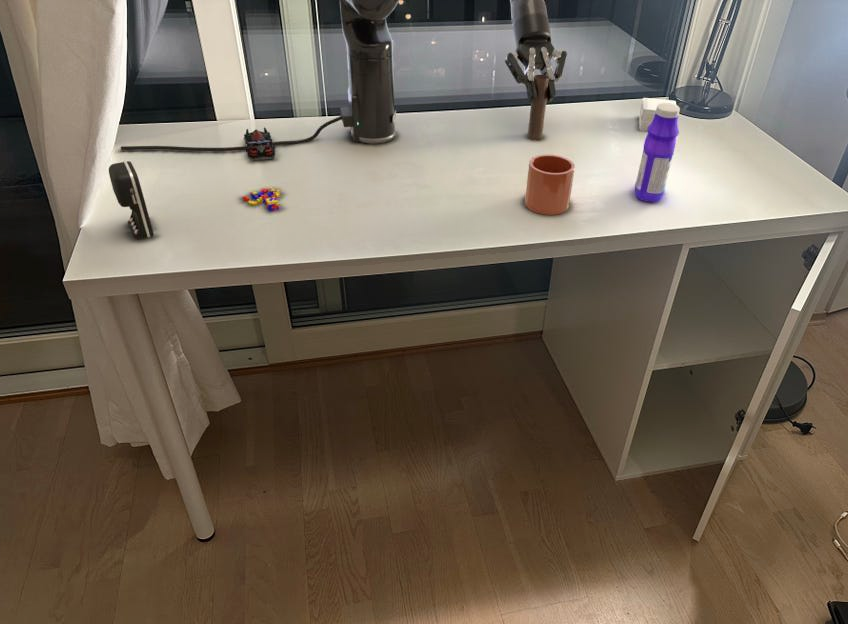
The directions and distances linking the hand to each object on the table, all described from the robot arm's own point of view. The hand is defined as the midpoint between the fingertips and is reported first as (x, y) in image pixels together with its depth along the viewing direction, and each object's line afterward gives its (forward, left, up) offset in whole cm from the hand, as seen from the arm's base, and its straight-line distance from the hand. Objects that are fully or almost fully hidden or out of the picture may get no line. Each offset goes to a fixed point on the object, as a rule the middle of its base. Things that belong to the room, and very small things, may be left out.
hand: (542, 99), depth 149 cm
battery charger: (-80, -25, -9) cm, 84 cm away
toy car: (-59, +5, -9) cm, 60 cm away
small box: (+30, +4, -9) cm, 32 cm away
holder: (-8, -28, -9) cm, 31 cm away
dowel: (0, +2, -9) cm, 9 cm away
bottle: (+13, -28, -9) cm, 32 cm away
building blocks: (-59, -18, -9) cm, 62 cm away
